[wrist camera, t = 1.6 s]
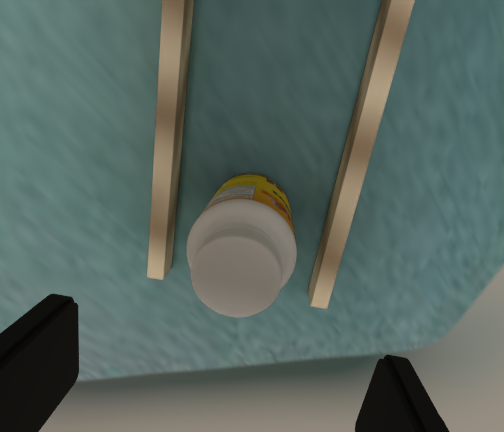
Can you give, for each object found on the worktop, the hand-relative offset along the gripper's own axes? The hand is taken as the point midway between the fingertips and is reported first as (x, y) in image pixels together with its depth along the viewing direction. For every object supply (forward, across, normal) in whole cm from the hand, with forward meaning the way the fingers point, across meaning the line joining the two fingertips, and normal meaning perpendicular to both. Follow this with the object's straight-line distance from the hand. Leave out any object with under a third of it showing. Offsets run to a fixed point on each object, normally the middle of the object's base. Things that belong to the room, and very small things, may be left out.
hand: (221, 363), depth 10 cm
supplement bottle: (+14, 0, -1) cm, 15 cm away
